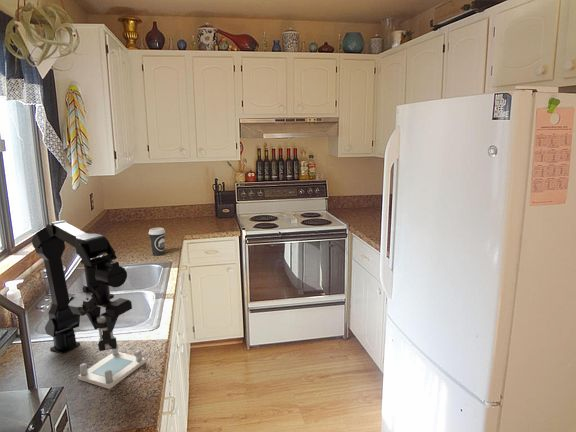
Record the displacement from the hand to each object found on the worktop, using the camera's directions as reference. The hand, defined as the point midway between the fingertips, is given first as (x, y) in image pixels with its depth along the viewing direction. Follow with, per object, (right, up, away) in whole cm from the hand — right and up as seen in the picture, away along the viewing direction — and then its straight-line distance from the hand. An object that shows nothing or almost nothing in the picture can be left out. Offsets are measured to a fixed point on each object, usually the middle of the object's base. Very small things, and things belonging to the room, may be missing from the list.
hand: (103, 330), depth 115 cm
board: (+1, -13, +3) cm, 13 cm away
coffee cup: (-22, +11, +115) cm, 118 cm away
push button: (0, -6, +1) cm, 6 cm away
